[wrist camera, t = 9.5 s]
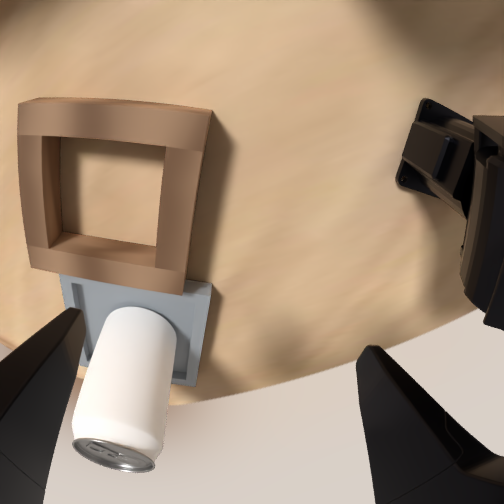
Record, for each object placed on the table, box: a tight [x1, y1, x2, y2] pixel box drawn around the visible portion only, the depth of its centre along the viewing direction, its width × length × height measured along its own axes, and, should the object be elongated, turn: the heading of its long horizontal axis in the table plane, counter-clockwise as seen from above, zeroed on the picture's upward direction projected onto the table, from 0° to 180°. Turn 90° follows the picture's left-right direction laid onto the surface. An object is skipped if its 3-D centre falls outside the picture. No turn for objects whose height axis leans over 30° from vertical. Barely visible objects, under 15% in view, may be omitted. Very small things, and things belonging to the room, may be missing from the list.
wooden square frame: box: [17, 98, 212, 296], centre depth 19 cm, size 12×12×2 cm
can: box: [72, 306, 177, 473], centre depth 21 cm, size 6×6×12 cm
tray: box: [59, 274, 212, 387], centre depth 26 cm, size 12×12×2 cm
